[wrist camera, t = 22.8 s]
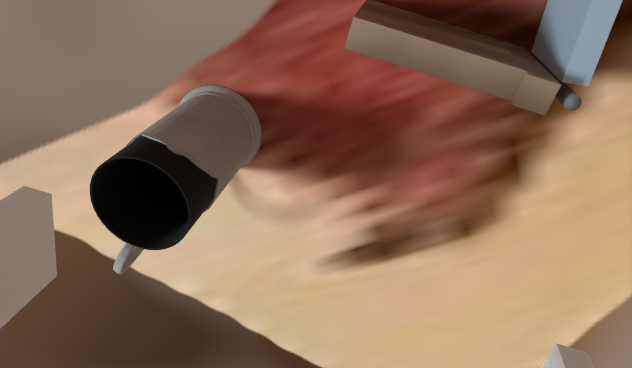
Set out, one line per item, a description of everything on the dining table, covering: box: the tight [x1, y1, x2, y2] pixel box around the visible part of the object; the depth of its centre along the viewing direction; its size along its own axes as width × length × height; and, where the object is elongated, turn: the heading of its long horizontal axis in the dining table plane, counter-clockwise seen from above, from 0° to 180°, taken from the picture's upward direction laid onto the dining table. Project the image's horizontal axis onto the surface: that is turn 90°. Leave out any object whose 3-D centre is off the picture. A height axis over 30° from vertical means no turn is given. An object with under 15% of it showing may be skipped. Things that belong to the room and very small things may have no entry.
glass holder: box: [90, 85, 262, 274], centre depth 41 cm, size 9×14×15 cm, turn 150°
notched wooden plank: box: [345, 0, 581, 115], centre depth 33 cm, size 2×15×11 cm, turn 75°
